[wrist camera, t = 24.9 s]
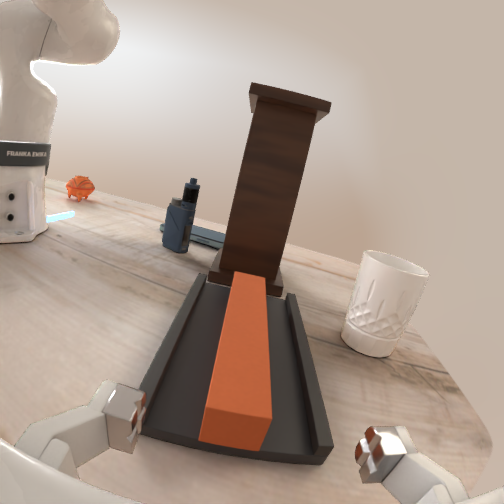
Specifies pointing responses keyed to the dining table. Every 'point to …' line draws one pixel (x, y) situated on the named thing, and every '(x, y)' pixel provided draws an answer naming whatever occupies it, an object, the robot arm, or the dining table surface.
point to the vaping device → (181, 219)
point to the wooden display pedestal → (268, 185)
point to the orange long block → (241, 371)
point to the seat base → (200, 373)
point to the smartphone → (205, 236)
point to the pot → (80, 187)
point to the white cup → (382, 302)
